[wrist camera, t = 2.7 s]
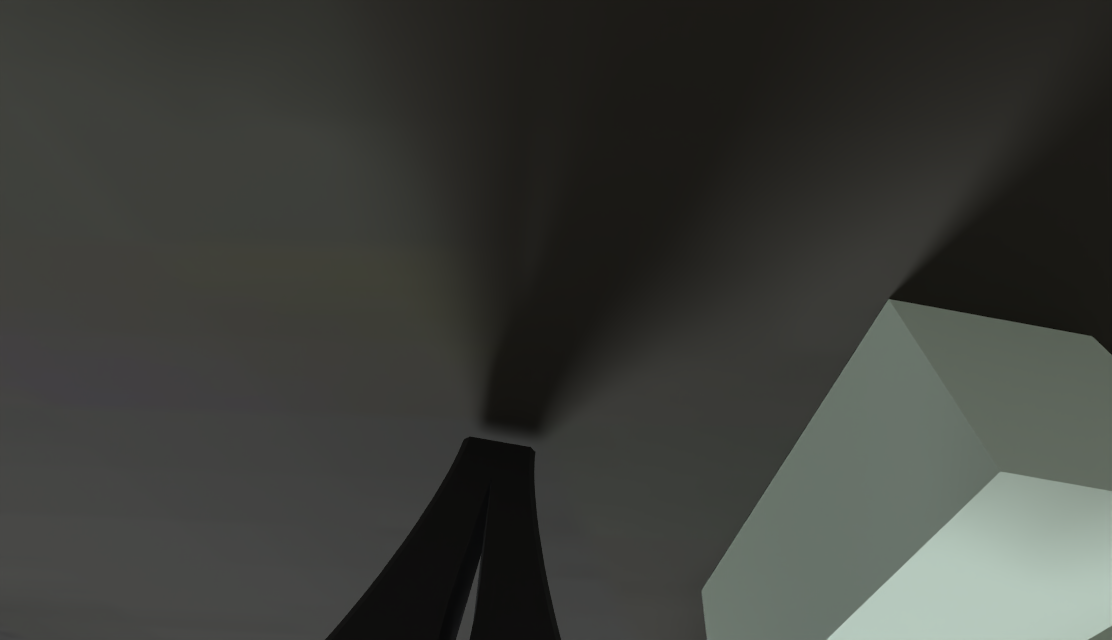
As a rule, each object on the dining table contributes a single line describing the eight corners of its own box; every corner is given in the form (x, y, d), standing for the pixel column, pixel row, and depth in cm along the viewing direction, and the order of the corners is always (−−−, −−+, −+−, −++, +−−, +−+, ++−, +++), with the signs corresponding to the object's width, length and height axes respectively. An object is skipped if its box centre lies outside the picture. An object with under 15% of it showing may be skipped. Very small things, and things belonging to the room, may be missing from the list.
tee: (1036, 647, 16) (1125, 810, 13) (701, 590, 15) (719, 743, 13) (1433, 398, 10) (1762, 606, 7) (888, 298, 9) (1001, 471, 7)
